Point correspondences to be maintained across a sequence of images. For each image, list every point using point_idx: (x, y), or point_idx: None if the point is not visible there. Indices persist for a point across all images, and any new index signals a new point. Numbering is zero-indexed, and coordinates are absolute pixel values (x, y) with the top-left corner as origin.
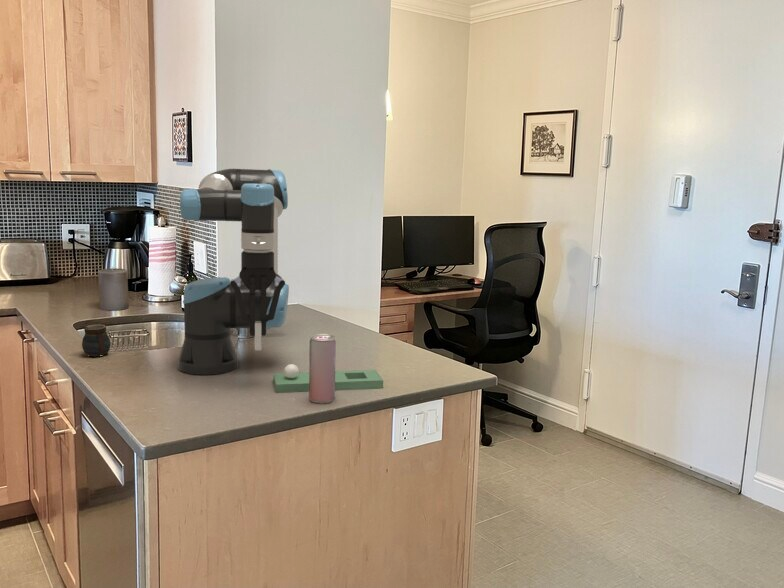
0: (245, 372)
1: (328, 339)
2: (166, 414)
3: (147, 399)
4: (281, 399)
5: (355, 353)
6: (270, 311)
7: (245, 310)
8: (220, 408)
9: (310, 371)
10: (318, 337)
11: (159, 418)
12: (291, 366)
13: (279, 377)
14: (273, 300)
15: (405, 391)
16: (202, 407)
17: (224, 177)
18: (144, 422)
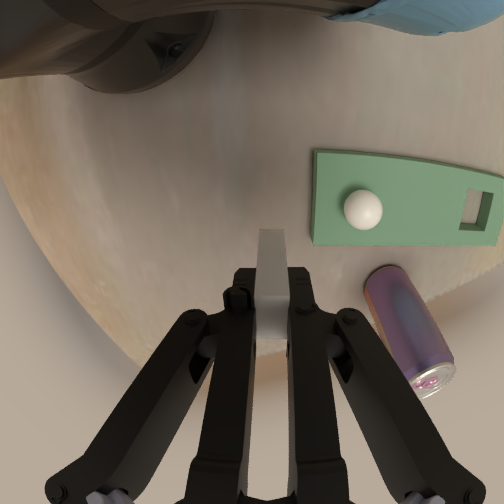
0: (237, 63)
1: (429, 391)
2: (128, 308)
3: (78, 245)
4: (315, 274)
5: None
6: (340, 381)
7: (199, 388)
8: (200, 301)
9: (379, 334)
10: (423, 380)
11: (126, 319)
12: (366, 226)
13: (329, 192)
14: (366, 434)
15: (499, 257)
16: (170, 292)
17: None
18: (115, 326)
